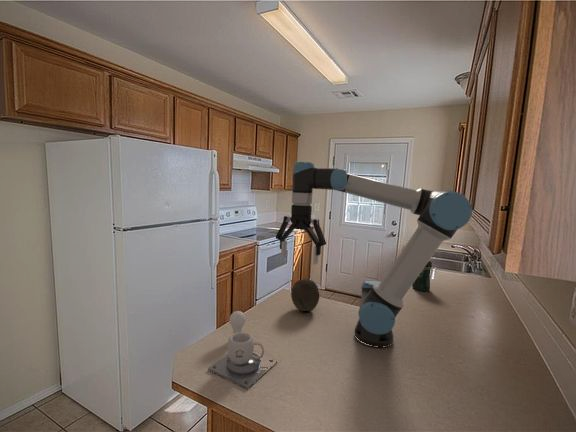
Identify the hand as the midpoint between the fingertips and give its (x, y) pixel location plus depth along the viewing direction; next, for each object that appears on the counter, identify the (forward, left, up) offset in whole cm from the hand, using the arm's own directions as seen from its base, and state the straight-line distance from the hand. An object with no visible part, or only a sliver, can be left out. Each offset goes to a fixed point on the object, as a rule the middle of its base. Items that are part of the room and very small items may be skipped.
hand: (299, 260), depth 111 cm
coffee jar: (-34, -97, -32) cm, 108 cm away
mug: (+6, +24, -30) cm, 38 cm away
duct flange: (+6, +24, -32) cm, 40 cm away
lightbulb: (+19, +12, -32) cm, 39 cm away
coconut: (+10, -27, -32) cm, 43 cm away
